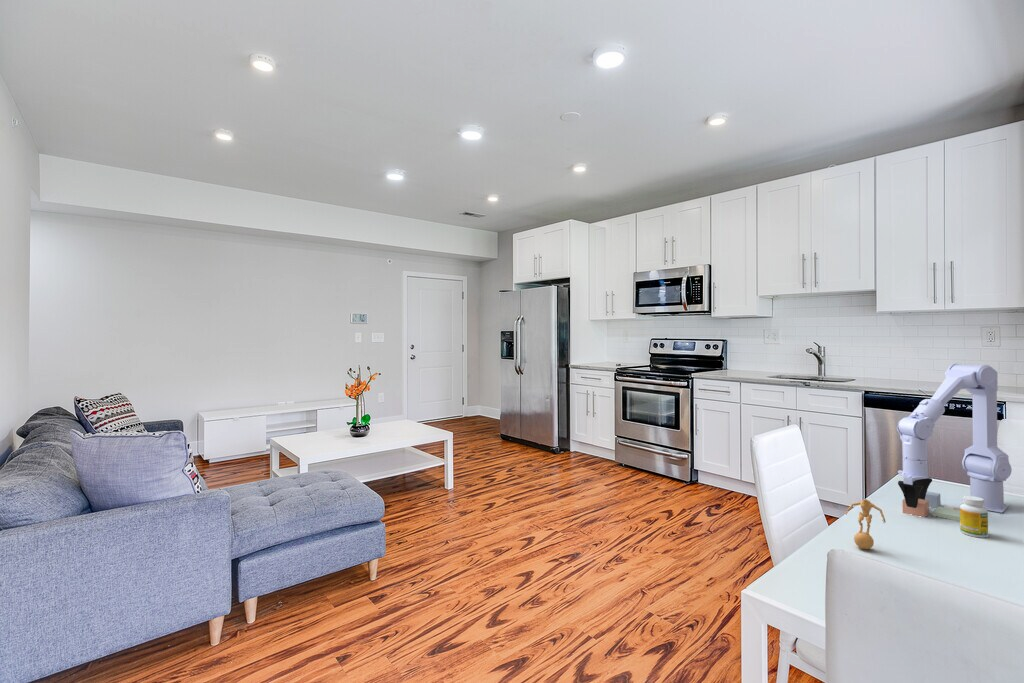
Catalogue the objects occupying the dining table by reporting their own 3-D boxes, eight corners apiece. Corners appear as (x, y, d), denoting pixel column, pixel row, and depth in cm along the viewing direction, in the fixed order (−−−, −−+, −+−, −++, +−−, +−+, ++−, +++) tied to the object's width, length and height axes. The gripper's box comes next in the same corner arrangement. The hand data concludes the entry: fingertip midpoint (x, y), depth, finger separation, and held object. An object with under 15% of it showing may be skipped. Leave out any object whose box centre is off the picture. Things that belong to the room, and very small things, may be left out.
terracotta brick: (908, 509, 148) (907, 496, 148) (929, 514, 144) (928, 500, 144) (902, 513, 145) (902, 499, 145) (924, 518, 141) (923, 504, 141)
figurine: (841, 545, 123) (841, 498, 123) (849, 539, 127) (848, 493, 127) (882, 556, 117) (881, 506, 117) (888, 549, 121) (887, 500, 121)
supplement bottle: (964, 528, 132) (963, 493, 132) (991, 535, 128) (990, 498, 128) (957, 533, 129) (956, 497, 129) (984, 540, 125) (984, 502, 125)
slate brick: (924, 503, 153) (923, 490, 153) (940, 506, 150) (940, 493, 150) (920, 506, 151) (920, 493, 151) (937, 509, 148) (936, 496, 148)
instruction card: (946, 505, 150) (946, 505, 150) (972, 511, 145) (972, 510, 145) (941, 510, 147) (940, 509, 147) (967, 515, 142) (967, 515, 142)
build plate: (938, 510, 147) (938, 506, 147) (969, 516, 141) (969, 512, 141) (932, 515, 142) (931, 511, 142) (964, 522, 137) (964, 518, 137)
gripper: (905, 452, 152) (906, 496, 152) (890, 459, 143) (891, 505, 143) (934, 456, 147) (935, 501, 147) (920, 464, 138) (921, 512, 138)
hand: (915, 504), depth 145 cm, fingers open, 7 cm apart
